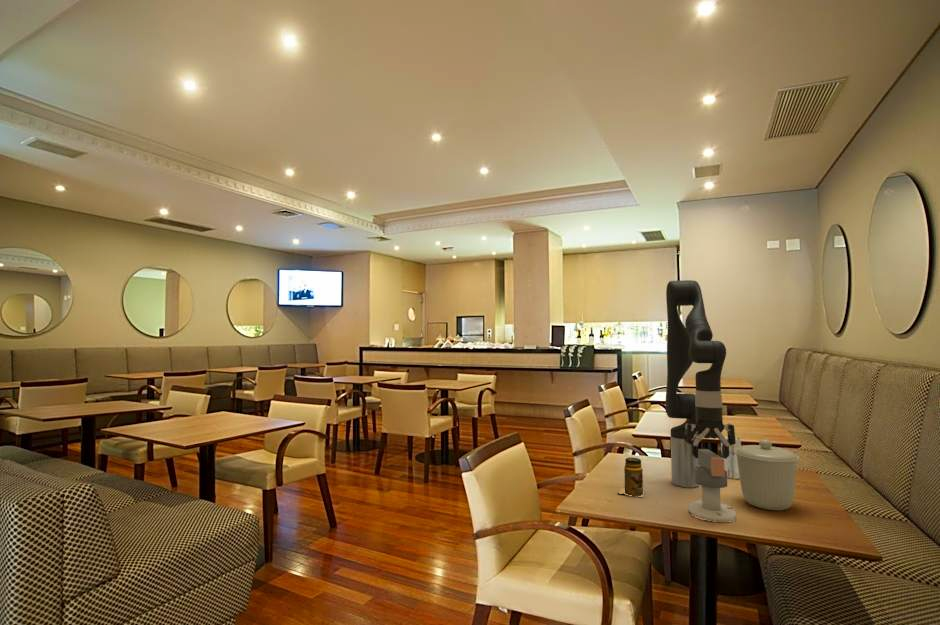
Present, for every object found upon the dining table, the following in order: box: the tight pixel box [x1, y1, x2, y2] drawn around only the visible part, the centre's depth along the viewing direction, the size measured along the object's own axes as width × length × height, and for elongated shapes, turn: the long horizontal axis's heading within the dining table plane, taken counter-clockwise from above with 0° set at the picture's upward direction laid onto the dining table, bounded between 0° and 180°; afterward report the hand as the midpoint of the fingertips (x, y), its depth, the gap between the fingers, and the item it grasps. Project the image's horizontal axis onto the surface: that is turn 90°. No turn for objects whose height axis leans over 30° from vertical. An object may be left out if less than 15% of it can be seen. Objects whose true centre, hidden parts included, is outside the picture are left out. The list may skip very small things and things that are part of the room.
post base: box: [688, 486, 737, 523], centre depth 147 cm, size 13×13×9 cm
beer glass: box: [720, 435, 742, 480], centre depth 186 cm, size 7×7×15 cm
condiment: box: [623, 457, 646, 496], centre depth 167 cm, size 7×8×12 cm
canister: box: [734, 438, 801, 511], centre depth 155 cm, size 18×18×21 cm
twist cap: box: [694, 448, 728, 489], centre depth 148 cm, size 12×9×9 cm
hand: (710, 457), depth 148 cm, fingers open, 8 cm apart
